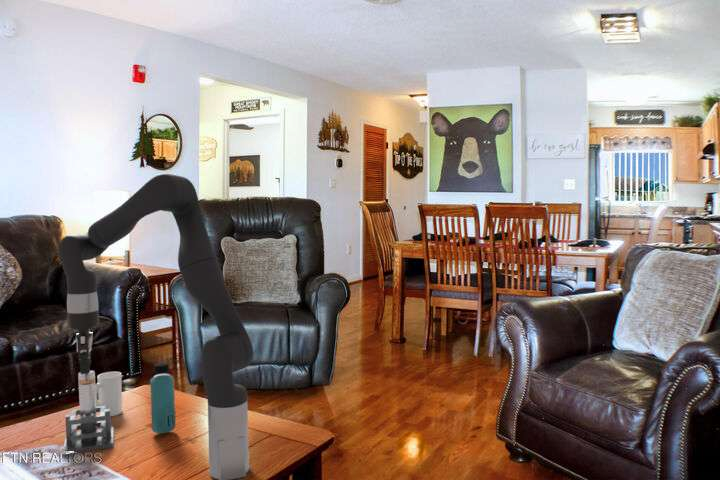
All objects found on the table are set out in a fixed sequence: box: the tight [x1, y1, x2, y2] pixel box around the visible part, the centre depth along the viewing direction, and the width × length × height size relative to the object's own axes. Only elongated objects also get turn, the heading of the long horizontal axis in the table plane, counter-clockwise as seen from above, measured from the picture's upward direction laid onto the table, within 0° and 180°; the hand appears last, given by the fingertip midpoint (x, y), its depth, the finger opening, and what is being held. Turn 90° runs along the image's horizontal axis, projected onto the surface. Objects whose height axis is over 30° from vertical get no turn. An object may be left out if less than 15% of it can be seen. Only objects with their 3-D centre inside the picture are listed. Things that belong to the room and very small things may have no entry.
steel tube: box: [77, 370, 98, 441], centre depth 157 cm, size 4×4×18 cm
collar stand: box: [61, 406, 115, 454], centre depth 157 cm, size 12×12×8 cm
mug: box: [95, 371, 123, 417], centre depth 177 cm, size 10×7×12 cm, turn 162°
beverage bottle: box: [149, 361, 177, 434], centre depth 162 cm, size 6×7×20 cm
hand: (85, 369), depth 156 cm, fingers open, 8 cm apart
